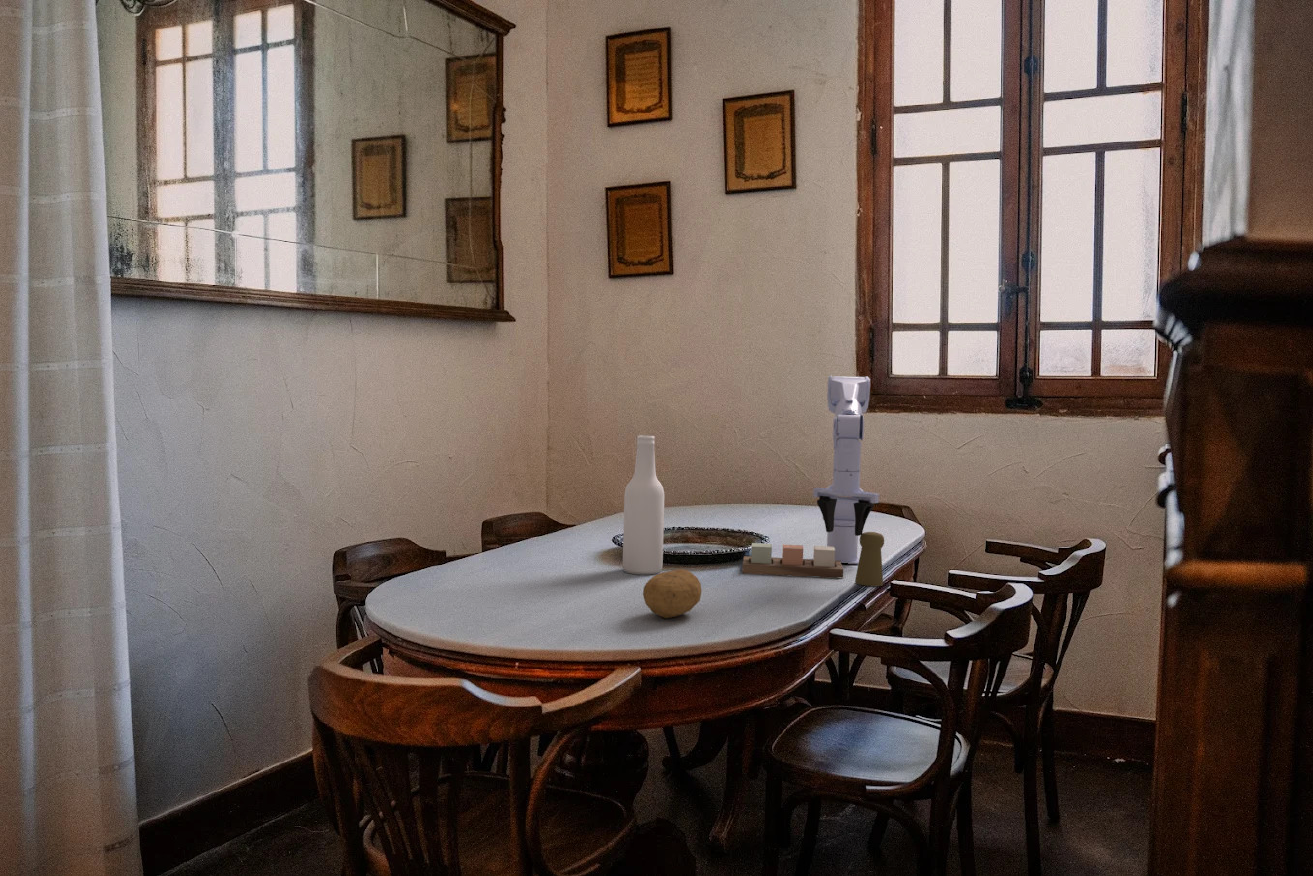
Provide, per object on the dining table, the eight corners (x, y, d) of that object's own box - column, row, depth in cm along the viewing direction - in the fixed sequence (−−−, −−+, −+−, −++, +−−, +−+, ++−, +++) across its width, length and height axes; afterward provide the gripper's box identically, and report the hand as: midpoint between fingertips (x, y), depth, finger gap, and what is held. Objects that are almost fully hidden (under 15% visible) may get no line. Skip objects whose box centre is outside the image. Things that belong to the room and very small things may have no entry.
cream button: (813, 563, 234) (813, 545, 234) (833, 564, 233) (834, 546, 233) (814, 567, 229) (814, 549, 229) (834, 568, 229) (835, 550, 229)
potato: (627, 620, 185) (628, 576, 184) (665, 605, 197) (667, 563, 196) (674, 628, 180) (676, 583, 179) (711, 612, 192) (712, 570, 191)
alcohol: (662, 575, 224) (666, 438, 221) (622, 574, 224) (625, 436, 221) (662, 567, 232) (665, 435, 230) (623, 566, 232) (626, 434, 230)
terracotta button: (782, 561, 235) (782, 544, 234) (802, 562, 234) (802, 545, 234) (782, 565, 230) (783, 548, 230) (802, 566, 230) (803, 548, 229)
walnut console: (743, 564, 238) (744, 556, 238) (840, 569, 236) (840, 560, 236) (742, 573, 229) (742, 564, 228) (843, 578, 226) (843, 569, 226)
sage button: (751, 560, 235) (751, 543, 235) (771, 561, 235) (771, 544, 235) (750, 564, 231) (751, 546, 231) (771, 565, 230) (771, 547, 230)
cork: (875, 587, 217) (878, 535, 216) (849, 582, 221) (853, 531, 220) (888, 584, 222) (891, 533, 221) (862, 579, 225) (866, 529, 225)
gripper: (807, 469, 222) (805, 531, 223) (870, 474, 214) (867, 539, 215) (822, 467, 228) (820, 528, 229) (884, 472, 219) (881, 535, 220)
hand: (844, 533), depth 222 cm, fingers open, 6 cm apart
